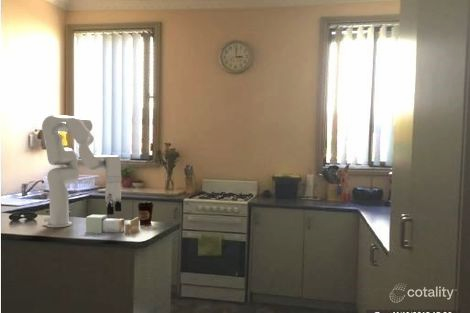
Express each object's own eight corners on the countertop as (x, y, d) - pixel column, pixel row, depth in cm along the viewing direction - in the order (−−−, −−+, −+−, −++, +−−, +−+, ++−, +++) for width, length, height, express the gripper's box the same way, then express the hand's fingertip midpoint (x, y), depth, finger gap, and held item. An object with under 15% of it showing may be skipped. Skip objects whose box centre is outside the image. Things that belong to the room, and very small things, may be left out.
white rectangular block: (89, 231, 215) (89, 219, 215) (93, 229, 220) (93, 218, 220) (121, 232, 213) (121, 220, 213) (124, 230, 218) (124, 218, 218)
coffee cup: (149, 227, 228) (149, 203, 227) (135, 226, 229) (135, 202, 229) (155, 223, 236) (155, 200, 236) (141, 223, 238) (141, 200, 237)
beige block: (125, 234, 211) (125, 220, 211) (131, 230, 220) (131, 216, 220) (132, 234, 210) (132, 220, 210) (139, 230, 219) (138, 217, 219)
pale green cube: (86, 232, 214) (86, 217, 214) (92, 229, 221) (92, 214, 221) (101, 232, 213) (101, 217, 213) (107, 229, 220) (106, 214, 220)
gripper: (113, 178, 224) (114, 210, 225) (99, 181, 207) (100, 215, 207) (126, 178, 223) (127, 210, 224) (113, 181, 206) (114, 215, 207)
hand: (114, 212), depth 216 cm, fingers open, 9 cm apart
